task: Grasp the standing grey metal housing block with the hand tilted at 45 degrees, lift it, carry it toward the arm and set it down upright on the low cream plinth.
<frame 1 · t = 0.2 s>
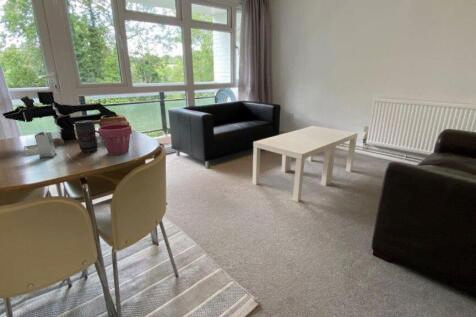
hand: (3, 115, 128), 17 cm above the table, tool horizontal, fingers open, 9 cm apart
decorative planter: (112, 140, 150), on the table
camera lens: (89, 151, 129), on the table
stand: (37, 151, 128), on the table
walnut block: (56, 146, 139), on the table
housing: (48, 157, 121), on the table
plant pot: (118, 152, 128), on the table
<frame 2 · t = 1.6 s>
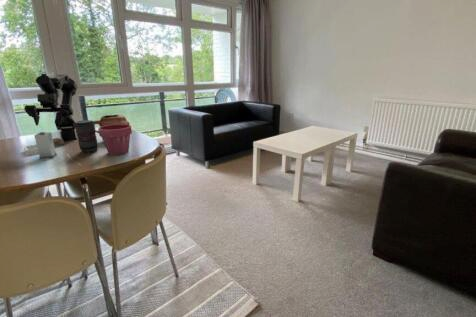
hand: (48, 124, 123), 14 cm above the table, tool tilted 45°, fingers open, 9 cm apart
nothing on the table moved.
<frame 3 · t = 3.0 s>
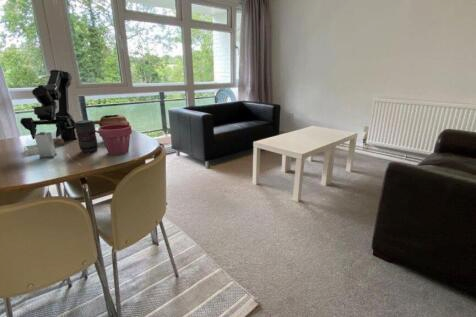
hand: (45, 138, 119), 9 cm above the table, tool tilted 45°, fingers open, 9 cm apart
nothing on the table moved.
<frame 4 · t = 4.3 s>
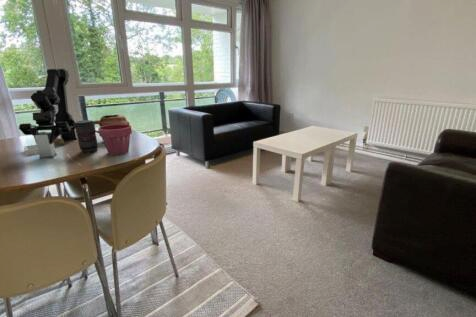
hand: (44, 144, 117), 7 cm above the table, tool tilted 45°, fingers closed on housing, 5 cm apart
housing: (48, 157, 121), on the table, touching gripper
everything else where it was.
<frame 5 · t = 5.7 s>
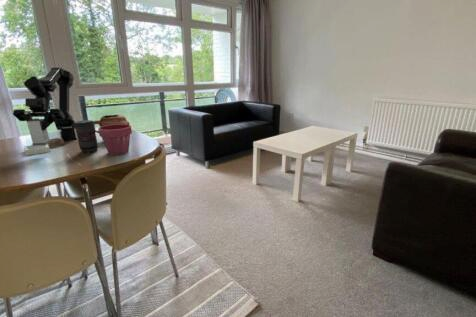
hand: (36, 130, 117), 12 cm above the table, tool tilted 45°, fingers closed on housing, 5 cm apart
housing: (41, 143, 121), point 6 cm above the table, touching gripper
everything else where it was.
when the fingers open (11 cm above the table, at t = 7.1 s): housing drops 1 cm, resting on stand.
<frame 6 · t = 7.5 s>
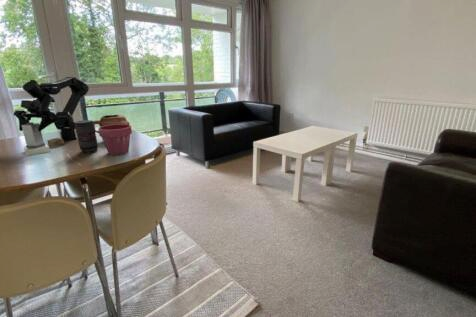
hand: (29, 130, 124), 11 cm above the table, tool tilted 45°, fingers open, 9 cm apart
housing: (36, 146, 128), point 3 cm above the table, touching stand
everything else where it was.
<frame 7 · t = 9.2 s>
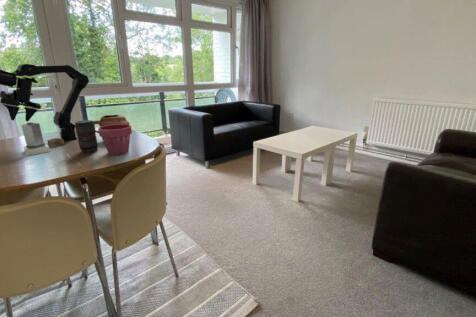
hand: (19, 120, 131), 14 cm above the table, tool tilted 20°, fingers open, 9 cm apart
nothing on the table moved.
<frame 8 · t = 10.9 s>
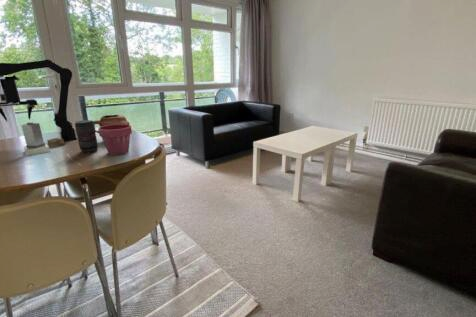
hand: (18, 120, 136), 13 cm above the table, tool pointing down, fingers open, 9 cm apart
nothing on the table moved.
at the end: housing inside the target area on the stand (0.1 cm from its centre), point 2.7 cm above the stand's base; housing tilted 0°; the gripper is holding nothing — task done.
